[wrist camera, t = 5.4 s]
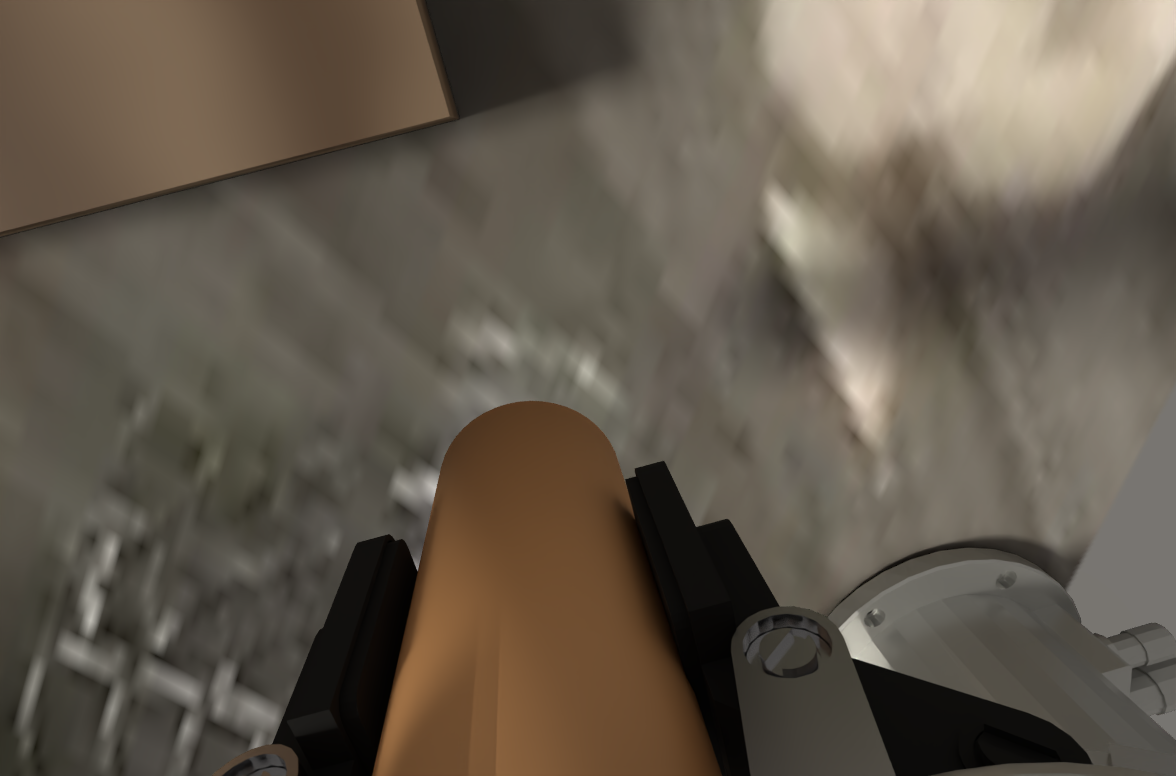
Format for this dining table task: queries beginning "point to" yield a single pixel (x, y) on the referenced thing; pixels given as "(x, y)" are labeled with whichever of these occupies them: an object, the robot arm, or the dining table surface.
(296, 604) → the dining table surface
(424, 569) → the pin
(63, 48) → the block
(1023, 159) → the dining table surface
